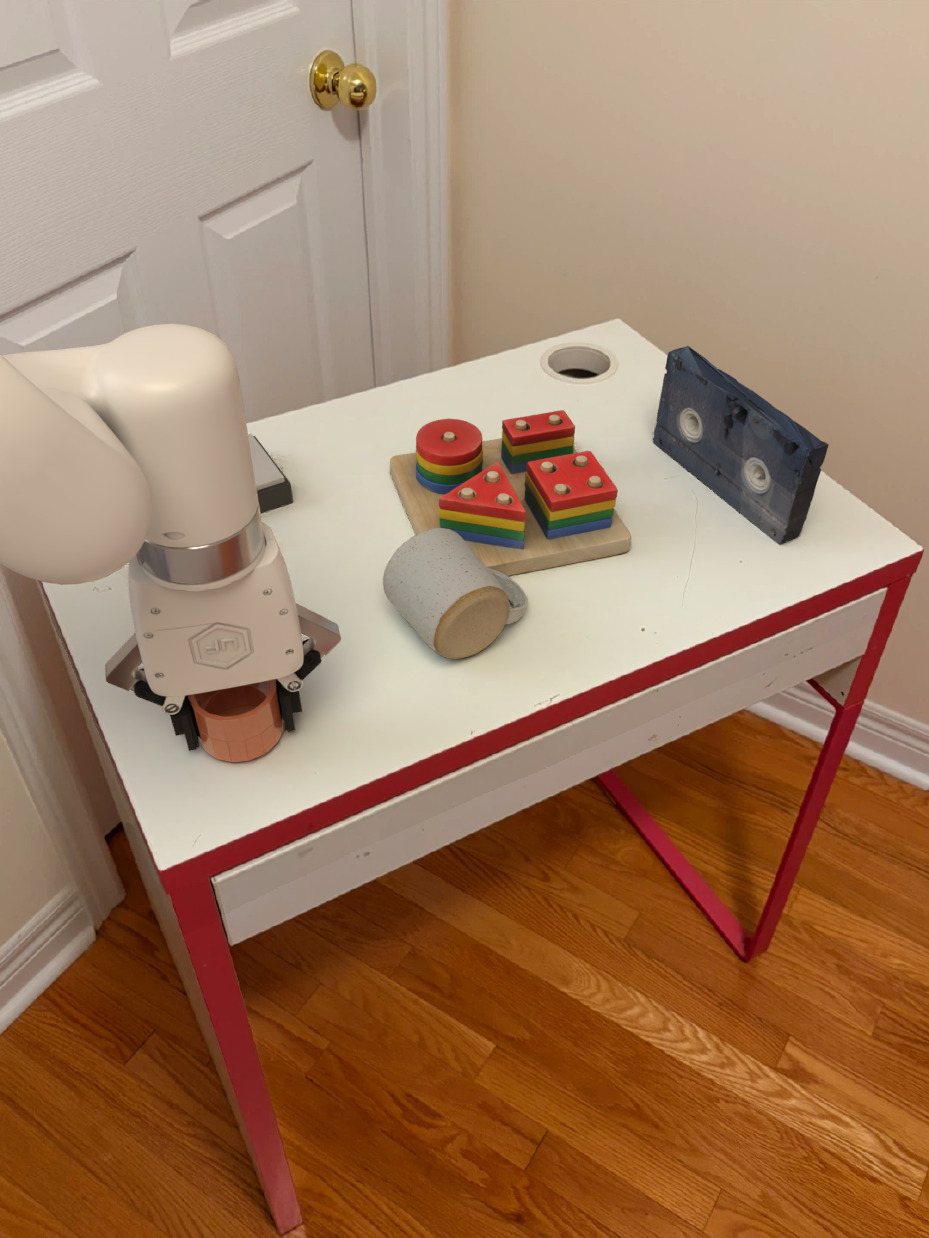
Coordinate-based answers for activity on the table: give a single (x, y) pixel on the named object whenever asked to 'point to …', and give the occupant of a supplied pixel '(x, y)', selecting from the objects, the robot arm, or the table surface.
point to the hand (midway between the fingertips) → (240, 724)
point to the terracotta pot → (238, 720)
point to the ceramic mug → (450, 593)
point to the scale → (268, 479)
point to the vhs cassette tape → (738, 444)
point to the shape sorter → (512, 493)
